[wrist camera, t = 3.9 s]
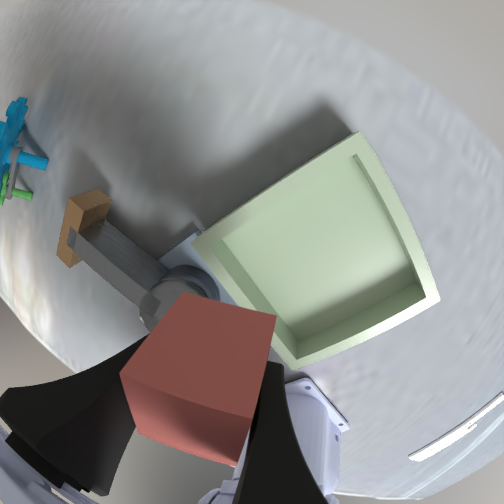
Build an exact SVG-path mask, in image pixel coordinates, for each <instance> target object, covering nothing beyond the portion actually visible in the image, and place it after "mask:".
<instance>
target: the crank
mask: <svg viewBox="0 0 504 504" xmlns="http://www.w3.org/2000/svg"><path fill="white" fill-rule="evenodd" d="M111 203H112V199H110V198H109V197H108V196H107V195H105V194H104V193H103V192H102V191H101V190H99V189H95V190H91V191H88V192H85V193H82V194H79V195H76V196H73V197H70V198H69V199H68V203H67V207H66V211H65V215H64V220H63V224H62V228H61V233H60V238H59V243H58V249H57V256H58V257H59V258H60V259H61V260H62V261H63V262H64V263H65V264H66V265H67V266H68V267H69V268H71V267H72V266H74V265H75V264H77V263H78V262H80V261H82V260H84V261H85V262H86V263H87V264H88V265H89V266H90V267H91V268H93V269H94V270H95V271H96V272H97V273H98V274H99V275H100V276H102V277H103V278H104V279H105V280H106V281H107V282H109V283H110V284H111V285H112V286H113V287H114V288H116V289H117V290H118V291H119V292H121V293H122V294H123V295H124V296H125V297H127V298H128V299H129V300H130V301H132V302H133V303H134V304H135V305H137V306H138V307H139V308H140V314H141V318H142V320H143V322H144V324H145V326H146V327H147V328H148V330H149V331H150V332H152V330H153V329H154V328H155V326H156V325H157V324H158V323H159V321H160V320H161V319H162V318H163V316H164V315H165V314H166V313H167V311H168V310H169V309H170V308H171V306H172V305H173V304H174V303H175V301H176V300H177V299H178V298H179V297H180V295H181V294H182V293H183V292H186V293H189V294H193V295H197V296H200V297H204V298H208V299H212V300H216V301H219V302H220V293H219V290H218V287H217V285H216V283H215V282H214V280H213V279H212V278H211V277H210V276H209V275H208V274H207V273H206V272H204V271H203V270H201V269H199V268H197V267H194V266H191V265H178V266H175V267H173V268H171V269H170V270H169V269H167V268H166V267H165V266H163V265H162V264H161V263H159V262H158V261H157V260H155V259H154V258H153V257H151V256H150V255H149V254H148V253H146V252H145V251H144V250H143V249H141V248H140V247H139V246H137V245H136V244H135V243H134V242H132V241H131V240H130V239H129V238H127V237H126V236H125V235H124V234H122V233H121V232H120V231H119V230H118V229H116V228H115V227H114V226H113V225H111V224H110V223H109V222H108V221H107V220H105V219H106V216H107V213H108V211H109V208H110V205H111Z"/></svg>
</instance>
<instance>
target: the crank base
mask: <svg viewBox="0 0 504 504" xmlns="http://www.w3.org/2000/svg"><path fill="white" fill-rule="evenodd" d="M199 235H201V232H200V231H199V230H197V231H196V232H195V233H193V234H192V235H190V236H189V237H188V238H186V239H185V240H184V241H182V242H181V243H180V244H178V245H177V246H176V247H174V248H173V249H172V250H170V251H169V252H168V253H166V254H165V255H164V256H163V257H161V258H160V259H159V260H157V261H158V262H159V263H161V264H162V265H163V266H165V267H166V268H167V269H169V270H170V269H171V268H173V267H175V266H178V265H191V266H194V267H197V268H199V269H201V270H203V271H204V272H206V273H207V274H208V275H209V276H210V277H211V278H212V279H213V280H214V282H215V283H216V285H217V287H218V290H219V293H220V302H223V303H227V304H231V305H235V306H238V305H237V303H236V302H235V301H234V300H233V298H232V297H231V296H230V295H229V293H228V292H227V291H226V290H225V288H224V287H223V286H222V284H221V283H220V282H219V281H218V279H217V278H216V277H215V275H214V274H213V273H212V271H211V270H210V269H209V268H208V266H207V265H206V264H205V262H204V261H203V260H202V258H201V257H200V256H199V254H198V253H197V252H196V250H195V249H194V248H193V246H192V245H191V244H190V243H191V242H193V241H194V240H195V239H196V238H197V237H198V236H199ZM140 319H141V321H142V322H143V320H142V318H141V317H140ZM143 323H144V322H143Z"/></svg>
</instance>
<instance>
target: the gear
mask: <svg viewBox="0 0 504 504" xmlns="http://www.w3.org/2000/svg"><path fill="white" fill-rule="evenodd" d="M26 102H27V99H26V98H23V97H19V98H18V99H17V101H16V102H15V101H12V102H11V104H10V105H9V107H8V109H7V111H6V116H7V117H8V118H7V122H6V123H5V122H2V121H0V205H3V203H4V199H5V198H6V199H10V200H11V198H12V195H13V196H17V197H21V198H24V199H28V200H31V198H32V194H33V193H31V192H27V191H23V190H20V189H16V188H15V182H16V176H17V170H18V165H19V163H21V164H25V165H28V166H32V167H35V168H38V169H42V170H45V169H46V166H47V163H48V160H49V159H46V158H42V157H39V156H36V155H32V154H29V153H25V152H22V148H21V147H17V145H18V141H16V140H17V138H18V136H19V134H20V133H21V131H22V129H23V126H24V120H23V118H24V116H25V114H26V112H27V110H28V106H26ZM11 164H12V166H11ZM10 166H11V172H10V173H9V169H10ZM9 175H10V179H9ZM8 179H9V183H8V185H7V182H8Z"/></svg>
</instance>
